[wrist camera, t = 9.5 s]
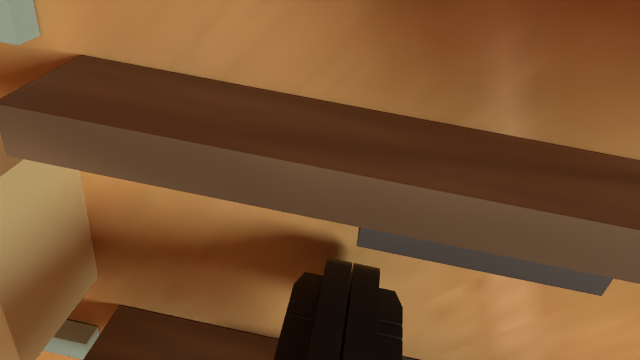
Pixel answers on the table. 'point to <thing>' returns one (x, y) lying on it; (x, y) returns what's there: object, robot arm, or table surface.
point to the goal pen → (16, 28)
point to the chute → (329, 183)
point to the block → (40, 253)
